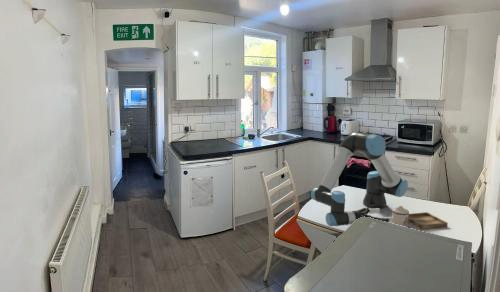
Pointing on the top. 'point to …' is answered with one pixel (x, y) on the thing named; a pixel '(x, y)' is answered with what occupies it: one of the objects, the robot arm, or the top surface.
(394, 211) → the teacup with lid
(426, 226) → the tray
